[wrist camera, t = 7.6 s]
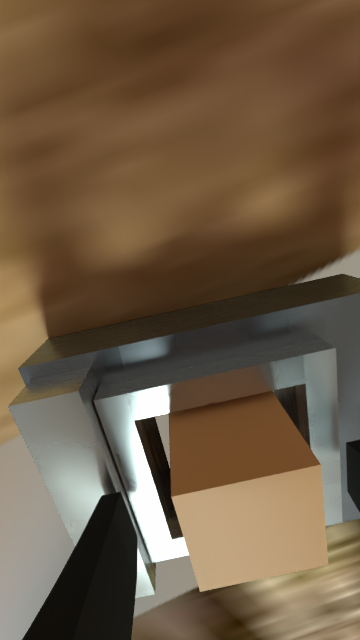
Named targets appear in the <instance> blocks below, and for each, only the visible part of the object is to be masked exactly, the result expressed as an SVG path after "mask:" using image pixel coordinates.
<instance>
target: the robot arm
mask: <svg viewBox="0 0 360 640" xmlns="http://www.w3.org/2000/svg"><path fill="white" fill-rule="evenodd" d="M346 462H347V491H348V493H349V495H350V497H351V498H352V500H353V502H354V504H355V505H356V507H357V509H358V511H359V512H360V440H355V441H351V442H346ZM136 584H137V534H136V531H135V528H134V526H133V523H132V520H131V518H130V515H129V512H128V509H127V507H126V504H125V501H124V499H123V496H122V493H121V491H120V492H116V493H111V494H107V495H102V496H101V498H100V499H99V501H98V503H97V505H96V507H95V509H94V511H93V513H92V515H91V517H90V519H89V521H88V523H87V525H86V527H85V529H84V531H83V533H82V535H81V537H80V539H79V540H78V542H77V544H76V546H75V548H74V550H73V552H72V554H71V556H70V558H69V559H68V561H67V563H66V565H65V567H64V569H63V571H62V572H61V574H60V576H59V578H58V580H57V581H56V583H55V585H54V587H53V588H52V590H51V592H50V594H49V596H48V597H47V599H46V600H45V602H44V604H43V606H42V608H41V609H40V611H39V612H38V614H37V616H36V617H35V619H34V621H33V623H32V624H31V626H30V628H29V629H28V631H27V633H26V634H25V636H24V638H23V639H22V640H131V634H132V625H133V614H134V605H135V595H136Z"/></svg>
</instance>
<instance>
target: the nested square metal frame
mask: <svg viewBox="0 0 360 640" xmlns="http://www.w3.org/2000/svg"><path fill="white" fill-rule="evenodd" d="M18 369H19V371H20V374H21V376H22V378H23V380H24V383H25V385H26V386H25V387H24V388H23V390H22V391H21V392H20V393H19V394H18V395H17V396H16V398H15V399H14V400H13V401H12V402H11V403H10V405H9V406H8V408H9V410H10V412H11V414H12V416H13V418H14V420H15V422H16V425H17V427H18V429H19V431H20V433H21V435H22V437H23V439H24V441H25V443H26V445H27V447H28V449H29V452H30V454H31V455H32V458H33V460H34V462H35V464H36V466H37V468H38V470H39V472H40V474H41V476H42V478H43V481H44V483H45V485H46V487H47V489H48V491H49V493H50V495H51V497H52V499H53V501H54V503H55V505H56V507H57V510H58V512H59V514H60V516H61V518H62V520H63V522H64V524H65V526H66V528H67V530H68V533H69V534H70V537H71V539H72V541H73V543H74V545H75V546H76V544H77V542H78V540H79V539H80V537H81V535H82V533H83V531H84V529H85V527H86V525H87V523H88V521H89V519H90V517H91V515H92V513H93V511H94V509H95V507H96V505H97V503H98V501H99V499H100V498H101V496H102V495H107V494H111V493H116V492H120V491H121V493H122V496H123V499H124V501H125V504H126V507H127V509H128V512H129V515H130V518H131V520H132V523H133V526H134V528H135V531H136V534H137V584H136V595H135V598H138V597H143V596H148V595H153V594H155V578H156V577H155V576H156V573H155V572H156V562H158V561H162V560H167V559H172V558H176V557H181V556H186V555H189V553H188V550H187V547H186V543H185V540H184V537H183V534H182V530H181V527H180V524H179V520H178V517H177V514H176V511H175V507H174V504H173V501H172V497H171V469H170V468H169V465H168V461H167V458H166V455H165V451H164V447H163V444H162V440H161V437H160V433H159V430H158V426H157V423H156V419H155V416H158V415H162V414H167V413H172V412H176V411H181V410H185V409H190V408H195V407H199V406H204V405H208V404H213V403H218V402H222V401H227V400H231V399H236V398H241V397H245V396H250V395H254V394H259V393H264V392H268V391H273V390H274V394H275V396H276V397H277V399H278V400H279V402H280V403H281V405H282V406H283V408H284V409H285V411H286V412H287V414H288V415H289V417H290V419H291V420H292V422H293V423H294V425H295V426H296V428H297V429H298V431H299V432H300V434H301V435H302V437H303V438H304V440H305V441H306V443H307V444H308V446H309V447H310V449H311V450H312V452H313V453H314V455H315V456H316V458H317V459H318V461H319V462H320V464H321V470H322V484H323V498H324V512H325V526H328V525H333V524H337V523H342V522H346V521H350V520H355V519H360V512H359V511H358V509H357V507H356V505H355V504H354V502H353V500H352V498H351V497H350V495H349V493H348V491H347V462H346V442H351V441H355V440H360V278H356V277H352V276H348V275H345V274H340V275H335V276H330V277H326V278H322V279H317V280H313V281H308V282H303V283H299V284H294V285H290V286H285V287H281V288H276V289H272V290H267V291H262V292H258V293H253V294H249V295H244V296H240V297H235V298H231V299H226V300H222V301H217V302H213V303H208V304H204V305H199V306H195V307H190V308H186V309H181V310H177V311H172V312H167V313H163V314H158V315H154V316H149V317H145V318H140V319H136V320H131V321H127V322H122V323H118V324H113V325H109V326H104V327H100V328H95V329H91V330H86V331H82V332H77V333H72V334H68V335H63V336H59V337H54V338H50V339H48V340H47V341H46V342H44V343H43V344H42V345H41V346H40V347H39V348H38V349H37V350H36V351H35V352H34V353H33V354H32V355H31V356H30V357H29V358H28V359H27V360H26V361H25V362H24V363H23V364H22V365H21V366H20V367H19V368H18Z"/></svg>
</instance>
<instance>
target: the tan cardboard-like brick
mask: <svg viewBox="0 0 360 640" xmlns="http://www.w3.org/2000/svg"><path fill="white" fill-rule="evenodd" d="M169 436H170V469H171V497H172V501H173V504H174V507H175V511H176V514H177V517H178V520H179V524H180V527H181V530H182V534H183V537H184V540H185V543H186V547H187V550H188V553H189V557H190V560H191V563H192V566H193V570H194V573H195V576H196V579H197V583H198V586H199V589H200V592H201V591H206V590H211V589H215V588H220V587H225V586H230V585H234V584H239V583H244V582H249V581H253V580H258V579H263V578H268V577H272V576H277V575H282V574H287V573H291V572H296V571H301V570H306V569H310V568H315V567H320V566H325V565H328V554H327V540H326V526H325V512H324V498H323V484H322V470H321V464H320V462H319V461H318V459H317V458H316V456H315V455H314V453H313V452H312V450H311V449H310V447H309V446H308V444H307V443H306V441H305V440H304V438H303V437H302V435H301V434H300V432H299V431H298V429H297V428H296V426H295V425H294V423H293V422H292V420H291V419H290V417H289V415H288V414H287V412H286V411H285V409H284V408H283V406H282V405H281V403H280V402H279V400H278V399H277V397H276V396H275V394H274V393H273V391H268V392H264V393H259V394H254V395H250V396H245V397H241V398H236V399H231V400H227V401H222V402H218V403H213V404H208V405H204V406H199V407H195V408H190V409H185V410H181V411H176V412H172V413H169Z"/></svg>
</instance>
